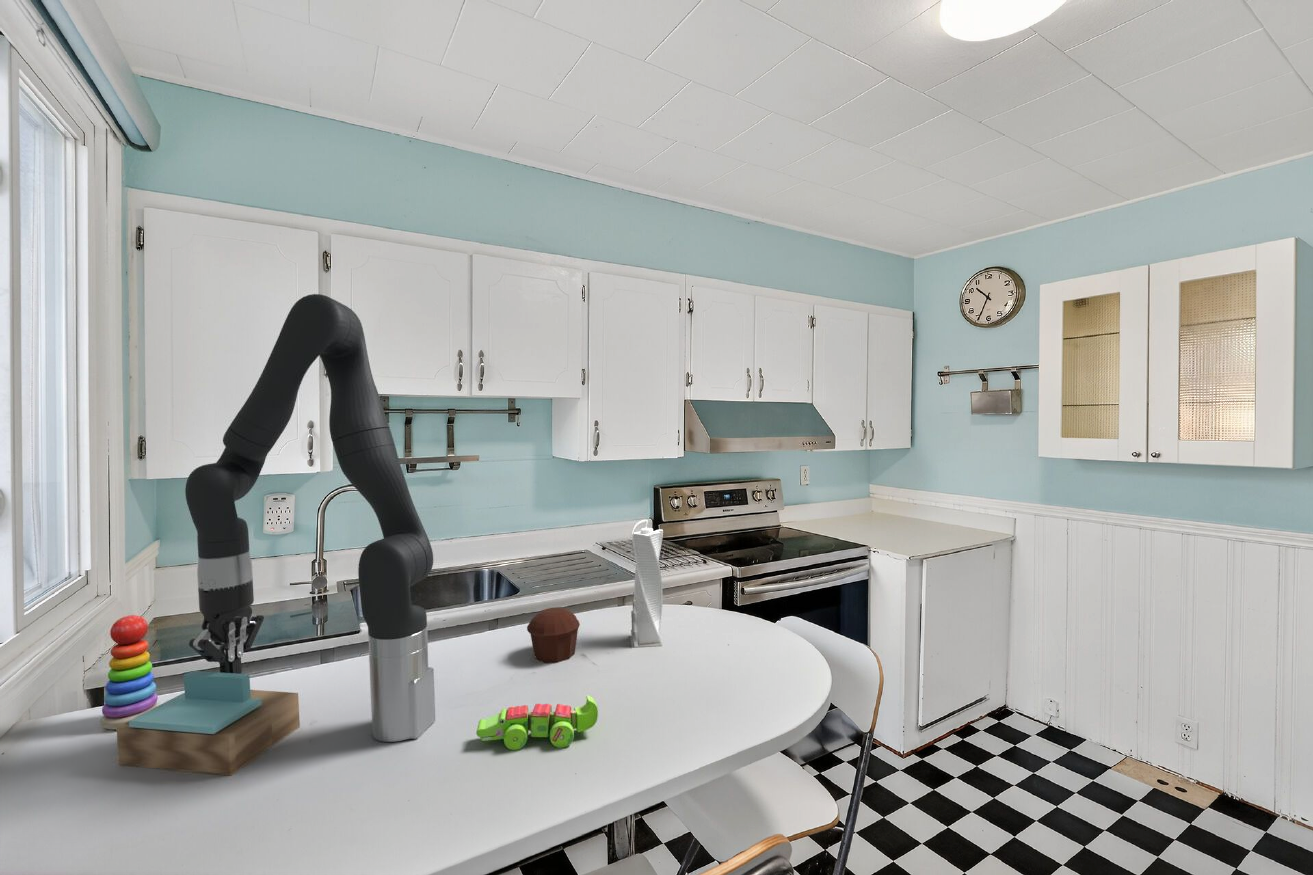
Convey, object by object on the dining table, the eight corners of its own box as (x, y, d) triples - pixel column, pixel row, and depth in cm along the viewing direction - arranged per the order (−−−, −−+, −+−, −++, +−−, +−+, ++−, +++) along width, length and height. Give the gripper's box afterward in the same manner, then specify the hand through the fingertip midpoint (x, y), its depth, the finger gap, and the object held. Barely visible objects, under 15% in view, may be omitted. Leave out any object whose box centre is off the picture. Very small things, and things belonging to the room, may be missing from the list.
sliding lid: (261, 704, 100) (260, 675, 100) (213, 733, 91) (211, 701, 91) (183, 698, 103) (181, 670, 102) (129, 726, 94) (127, 695, 93)
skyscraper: (629, 635, 146) (627, 519, 144) (662, 633, 146) (660, 518, 145) (631, 649, 137) (629, 526, 136) (666, 646, 138) (665, 525, 137)
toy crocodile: (473, 754, 96) (472, 716, 96) (482, 731, 103) (480, 696, 103) (598, 746, 98) (597, 709, 98) (598, 724, 105) (597, 690, 104)
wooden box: (299, 726, 105) (298, 692, 105) (230, 775, 91) (228, 736, 91) (199, 718, 108) (197, 685, 108) (118, 764, 94) (116, 727, 94)
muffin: (555, 640, 142) (554, 598, 142) (590, 651, 136) (590, 607, 135) (516, 658, 132) (515, 613, 132) (552, 670, 126) (551, 623, 125)
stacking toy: (126, 733, 104) (119, 626, 103) (89, 729, 105) (82, 623, 104) (171, 710, 111) (165, 610, 110) (136, 707, 113) (130, 608, 112)
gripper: (239, 569, 109) (244, 663, 110) (169, 591, 96) (175, 698, 97) (276, 570, 108) (281, 665, 109) (210, 593, 95) (216, 701, 96)
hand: (231, 680), depth 103 cm, fingers closed
